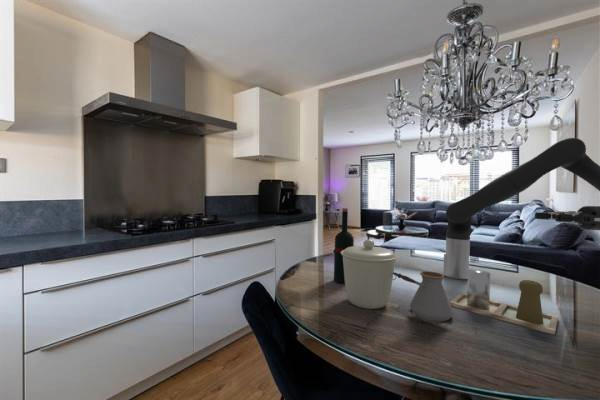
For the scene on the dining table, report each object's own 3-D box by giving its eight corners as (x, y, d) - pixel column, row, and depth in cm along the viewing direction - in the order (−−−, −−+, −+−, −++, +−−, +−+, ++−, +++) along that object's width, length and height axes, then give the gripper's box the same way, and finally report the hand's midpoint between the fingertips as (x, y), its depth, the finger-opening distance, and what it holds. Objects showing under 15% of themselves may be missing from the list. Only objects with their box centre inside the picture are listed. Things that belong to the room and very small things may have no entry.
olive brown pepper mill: (548, 325, 76) (550, 285, 75) (523, 323, 77) (525, 283, 76) (534, 316, 81) (536, 278, 81) (511, 314, 83) (512, 277, 82)
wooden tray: (449, 308, 89) (449, 301, 89) (461, 299, 97) (461, 292, 97) (554, 339, 71) (554, 330, 71) (557, 324, 80) (558, 316, 80)
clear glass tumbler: (464, 305, 89) (465, 271, 88) (469, 300, 93) (471, 268, 92) (486, 311, 84) (488, 275, 84) (491, 306, 88) (492, 271, 88)
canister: (373, 290, 104) (375, 234, 103) (408, 310, 87) (410, 243, 86) (330, 296, 97) (331, 236, 97) (359, 318, 80) (361, 245, 80)
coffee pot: (427, 307, 90) (429, 261, 89) (462, 322, 79) (463, 270, 79) (375, 318, 81) (377, 267, 80) (406, 337, 70) (408, 278, 70)
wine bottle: (344, 287, 107) (346, 209, 106) (329, 279, 116) (331, 207, 116) (360, 284, 111) (362, 209, 110) (345, 277, 120) (347, 207, 119)
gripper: (581, 205, 94) (529, 204, 96) (626, 207, 80) (564, 205, 82) (580, 227, 94) (528, 225, 96) (625, 233, 80) (563, 231, 82)
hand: (545, 216), depth 89 cm, fingers open, 8 cm apart
